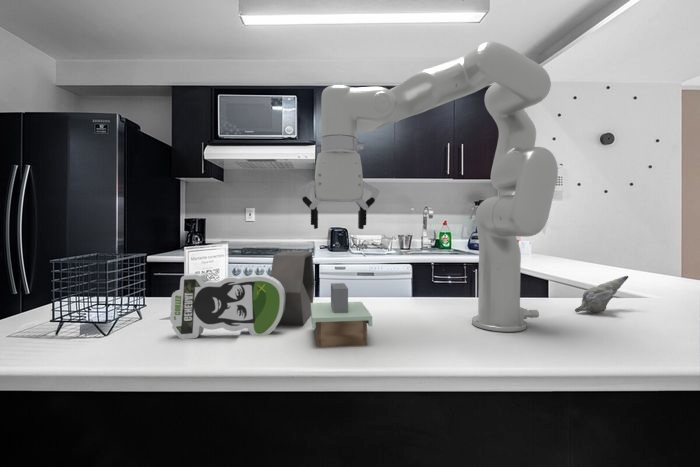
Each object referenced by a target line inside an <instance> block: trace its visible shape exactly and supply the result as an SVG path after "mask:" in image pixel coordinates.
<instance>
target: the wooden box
mask: <svg viewBox="0 0 700 467" xmlns="http://www.w3.org/2000/svg"><path fill="white" fill-rule="evenodd" d="M314 333H315V343H316V348H326V347H327V348H329V347H331V348H332V347H334V348H335V347H351V346H353V347H354V346H355V347H357V346H367V345H368V338H367V337H368V324H367V320H365V321H335V322H316V328H314Z"/></svg>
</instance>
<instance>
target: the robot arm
mask: <svg viewBox="0 0 700 467" xmlns="http://www.w3.org/2000/svg"><path fill="white" fill-rule="evenodd" d="M491 84H492V85H491ZM488 86H489V87H488ZM486 87H488V89H487V90H486V92H485V94H484V106H485V108H486V110H487V112H488V113H489V115H490V116H491V117H492V119H493V120H494V121H495V124H496V126H497V128H498V138H497V145H496V149H495V153H494V157H493V162H492V167H491V171H490V182H491V185H492V187H493V188H494V189H496V190H497V191H500V192H507V193H509V192H510V193H511V192H514V193H513V194H507V195H497V196H496V195H495V196H491V197H488V198H486V199H485V200H483V201H482V202H481V203H480V204H479V205H478V207H477V209H476V211H475V215H474V216H475V217H474V218H475V226H476V232H477V238H478V296H477V298H478V302H477V304H478V305H477V306H478V307H477V308H478V310H477V314H478V315H474V316H472V318H471V324H472V325H473V326H475V327H477V328H479V329H482V330H487V331H492V332H501V333H502V332H503V333H504V332H506V333H514V332H522V331H524V330H526V329H527V325H528V323H527V321H525V320H527V319H528V318H530V319H534V318H535V319H536V318H537V319H538V318H539V317H540V312H539V310H538V309H529V310H528V308H523V307H521V263H522V262H521V261H522V256H521V255H522V254H521V248H520V244H519V241H518V239H517V237H527V238H528V237H533V236H536V235H538V234H540V233H541V231H543V229H544V228H545V226H546V224H547V222H548V219H549V216H550V212H551V208H552V205H553V204H552V203H553V199H554V195H555V189H556V185H557V180H558V172H559V170H558V169H559V168H558V167H559V166H558V163H557V159H556V156H555V155H554V153H552V151H551V150H550V149H547V148H545V147H543V146H536V141H537V139H536V138H537V130H536V126H535V124H534V122H533V120H532V119H531V117H530V116H529V115H528V113H527V111H526V110H525V109H527V108H530V107H532V106H535V105H537V104H540V103H541V102H542V101H543V100H545V98H547V97H548V96H549V93H550V91H551V87H552V82H551V78H550V75H549V73H548V71H547V70H546V69H545V68H544V67H543V66H542V65H540V64H539V63H537V62H536V61H534V60H532V59H530V58H529V57H527V56H525V55H523V54H522V53H521V52H519V51H517V50H515V49H513V48H511V47H509V46H508V45H505V44H503V43H500V42H496V41H485V42H482V43H481V44H479V45H478V46H476V47H475V48H474V49H472V50H470V51H469V52H467V53H466V54H465V55H462V56H461V57H457V58H454V59H451V60H449V61H446V62H443V63H440V64H437V65H434V66H431V67H428V68H425V69H423V70H420V71H418V72H417V73H415V74H413V75H411V76H410V77H409V78H407V79H406V80H404V81H403V82H401V83H399V84H397V85H396V86H394V87H392V88H390V89H388V88H387V87H384V86H383V87H382V86H363V87H352V86H349V85H343V84H334V85H329V86H327V87H325V88H323V90H322V93H321V102H320V103H321V104H320V105H321V106H320V107H321V108H320V109H321V114H320V115H321V117H320V118H321V124H320V125H321V126H320V127H321V128H320V130H321V132H320V134H321V136H320V138H321V139H320V143H321V144H320V146H321V147H320V152H318V154H317V156H316V162H315V170H314V180H312V181H310V182H309V183H306V184H304V185H302V186H300V187H298V188H297V193H298V195H299V197H300V199H301V201H302V202H303V203H304V204H305V206H307V207H308V208H309V209H310V225H311V226H313V229H314V230H317V229H318V228H319V211H318V206H319V204H320V203H322V202H331V203H332V202H333V203H334V202H335V203H336V202H338V203H339V202H341V203H345V202H346V203H347V202H350V203H351V202H354V203H355V204H356V205H357V206H358V207H359V210H358V212H357V214H358V216H357V217H358V218H357V220H358V222H357V223H358V224H357V226H358V227H357V228H358V229H359V230H364V228H365V226H366V225H367V210H368V209H369V208H371V206H373V204H375V201H376V200H377V197H378V196H379V194H380V190H379V189H378V188H376V187H375V186H373V185H372V184H369V183H367V182H365V181H364V177H363V166H362V161H361V160H362V159H361V155H360V153H358V151H360V150H364V142H360V141H359V140H358V132H360V133H370V132H374V131H376V130H378V129H381V128H383V127H384V128H385V127H387V126H389V125H392V124H395V123H397V122H400V121H401V120H402V121H403V120H405V119H407V118H409V117H412V116H416V115H419V114H422V113H424V112H427V111H428V110H432V109H435V108H437V107H439V106H442V105H444V104H447V103H450V102H452V101H455V100H458V99H461V98H463V97H467V96H468V95H471V94H474V93H476V92H478V91H480V90H482V89H484V88H486ZM312 189H314V190H313V191H314V200H313V201H312V200H311V199H309V197H308V195H307V194H306V193H307V192H308V191H310V190H312ZM364 190H365V191H366V192H369V193H370V196H369V198H368V199H367V200H366V201H364V199H363V196H364Z"/></svg>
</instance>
